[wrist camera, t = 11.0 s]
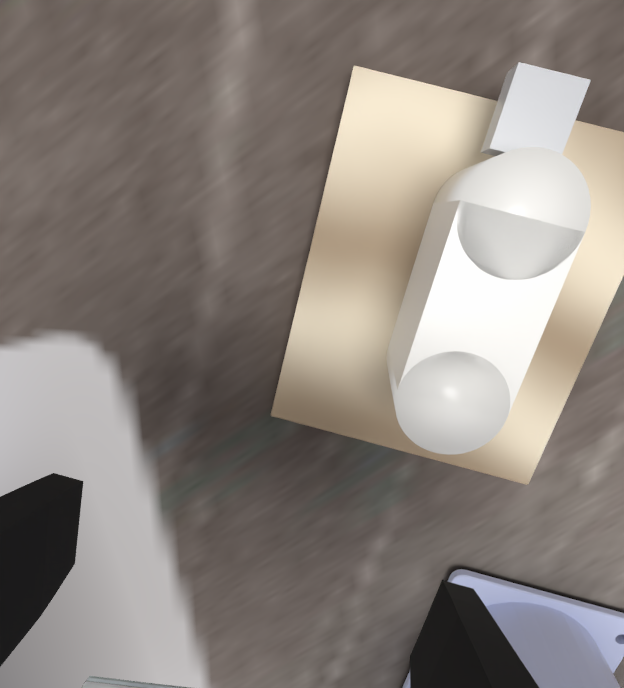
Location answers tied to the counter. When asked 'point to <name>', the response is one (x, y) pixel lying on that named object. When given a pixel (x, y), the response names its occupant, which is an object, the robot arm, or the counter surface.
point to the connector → (490, 268)
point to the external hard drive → (121, 683)
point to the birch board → (399, 257)
